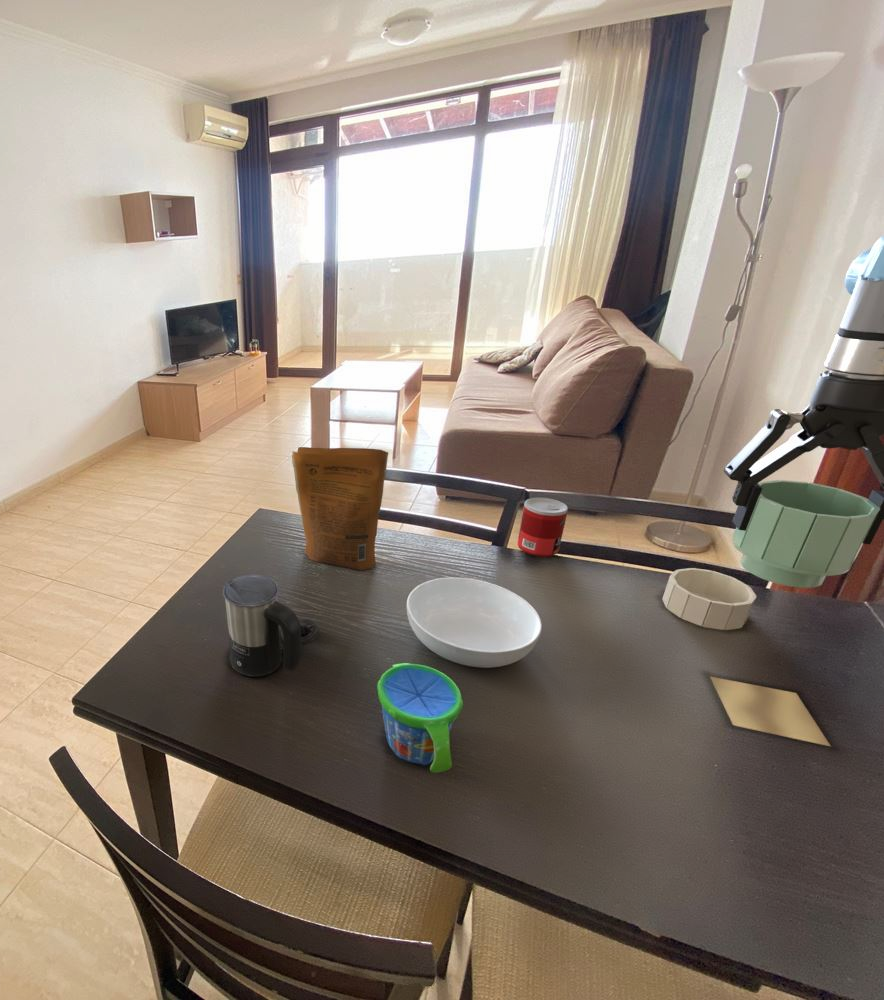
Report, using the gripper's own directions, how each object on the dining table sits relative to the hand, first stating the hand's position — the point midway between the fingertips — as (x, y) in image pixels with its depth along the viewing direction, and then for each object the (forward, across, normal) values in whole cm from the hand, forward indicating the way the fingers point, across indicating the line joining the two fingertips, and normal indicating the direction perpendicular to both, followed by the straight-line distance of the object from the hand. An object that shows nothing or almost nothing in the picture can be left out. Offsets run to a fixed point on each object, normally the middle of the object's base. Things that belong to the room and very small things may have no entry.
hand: (797, 532), depth 73 cm
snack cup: (+25, -44, -32) cm, 60 cm away
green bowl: (+6, 0, 0) cm, 6 cm away
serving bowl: (+25, -38, -7) cm, 46 cm away
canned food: (+25, -26, +30) cm, 47 cm away
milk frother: (+25, -69, -21) cm, 76 cm away
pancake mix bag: (+25, -66, +11) cm, 71 cm away
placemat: (+25, +1, -8) cm, 26 cm away
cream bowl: (+25, -1, +16) cm, 29 cm away
